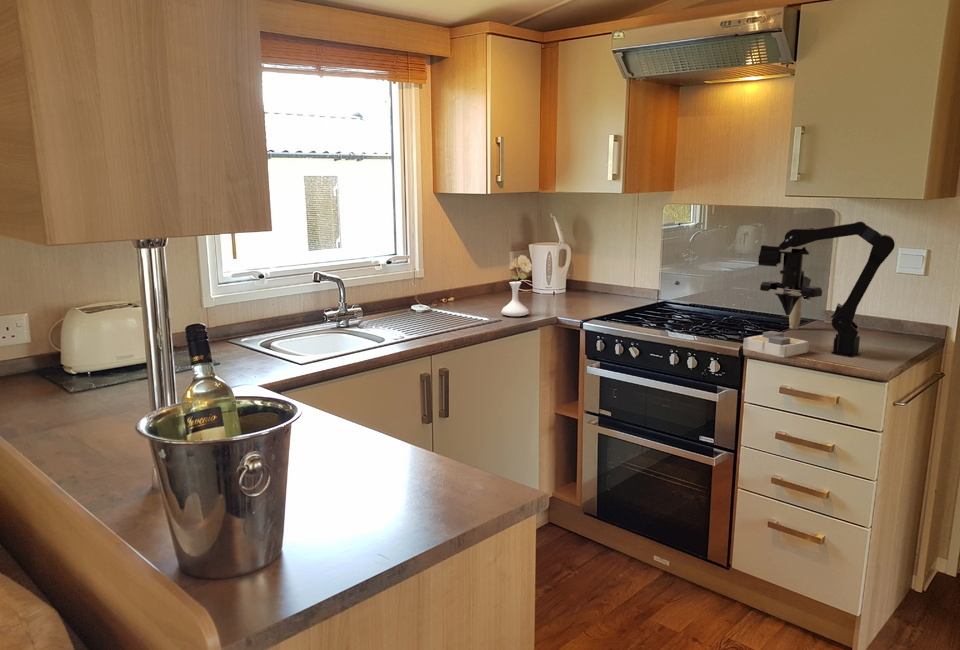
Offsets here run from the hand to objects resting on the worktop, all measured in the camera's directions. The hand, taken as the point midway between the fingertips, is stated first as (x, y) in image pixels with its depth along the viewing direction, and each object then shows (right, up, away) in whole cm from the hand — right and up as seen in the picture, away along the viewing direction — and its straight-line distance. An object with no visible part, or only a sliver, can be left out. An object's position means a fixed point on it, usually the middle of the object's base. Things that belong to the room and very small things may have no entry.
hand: (787, 315), depth 240 cm
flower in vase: (-86, 0, +63) cm, 106 cm away
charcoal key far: (-4, -9, +3) cm, 10 cm away
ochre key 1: (-9, -11, 0) cm, 14 cm away
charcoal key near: (-5, -10, -6) cm, 13 cm away
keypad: (-5, -12, -1) cm, 12 cm away
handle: (+17, -5, +34) cm, 39 cm away
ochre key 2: (0, -11, -2) cm, 11 cm away
